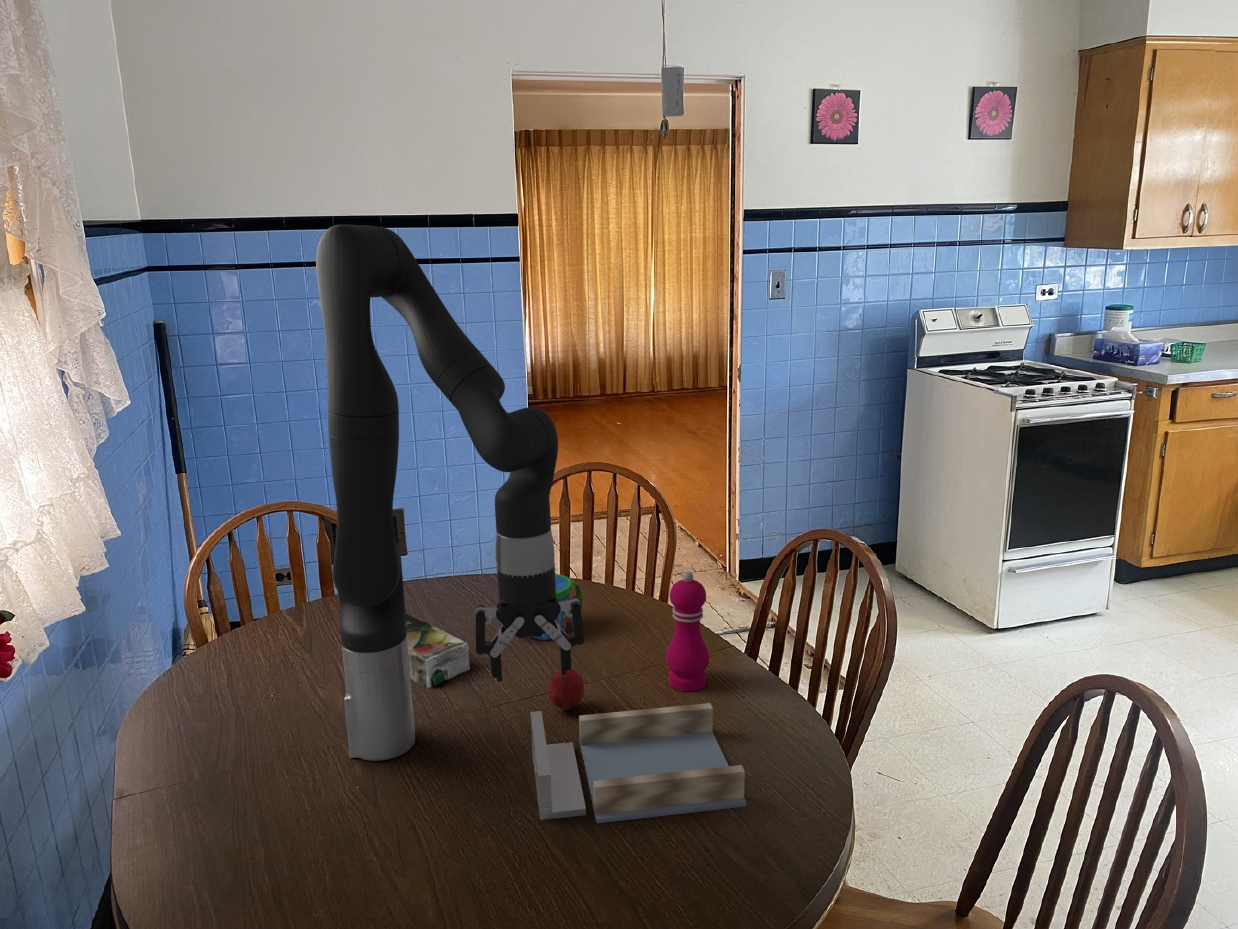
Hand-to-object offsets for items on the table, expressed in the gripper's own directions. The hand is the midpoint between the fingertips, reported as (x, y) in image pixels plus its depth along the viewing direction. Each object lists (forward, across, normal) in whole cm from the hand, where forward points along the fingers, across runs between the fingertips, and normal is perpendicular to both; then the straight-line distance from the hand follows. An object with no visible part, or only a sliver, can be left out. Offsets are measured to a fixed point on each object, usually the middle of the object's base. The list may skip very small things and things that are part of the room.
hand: (531, 675), depth 121 cm
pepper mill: (+17, +27, +24) cm, 40 cm away
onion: (+17, +6, +19) cm, 26 cm away
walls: (+17, +17, 0) cm, 24 cm away
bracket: (+17, +3, 0) cm, 17 cm away
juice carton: (+17, -18, +40) cm, 47 cm away
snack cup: (+17, +5, +48) cm, 51 cm away
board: (+17, +17, 0) cm, 24 cm away
